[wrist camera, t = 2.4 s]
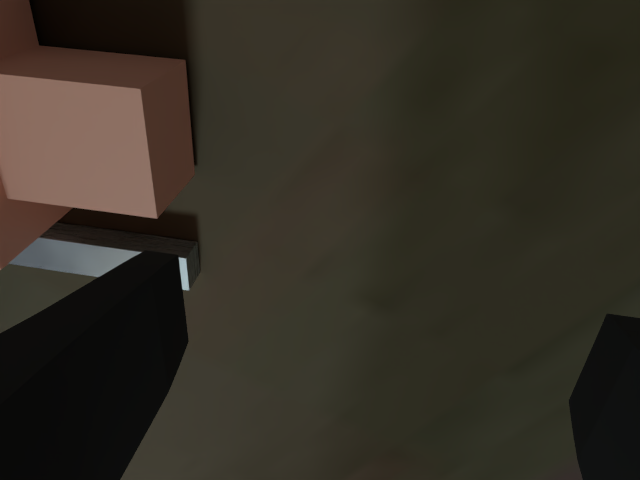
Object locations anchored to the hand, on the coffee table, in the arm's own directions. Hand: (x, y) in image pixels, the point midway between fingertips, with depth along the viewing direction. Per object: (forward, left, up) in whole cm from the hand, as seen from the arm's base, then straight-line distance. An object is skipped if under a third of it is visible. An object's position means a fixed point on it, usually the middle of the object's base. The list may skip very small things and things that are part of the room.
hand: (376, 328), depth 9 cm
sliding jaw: (0, +11, -9) cm, 14 cm away
